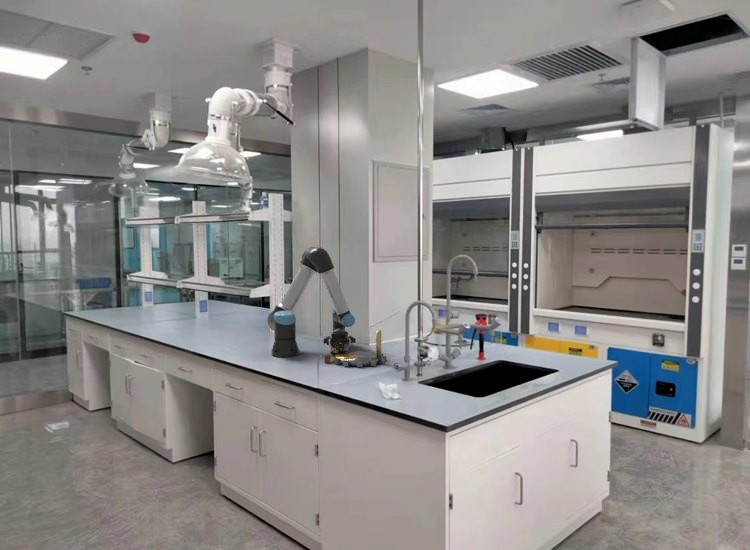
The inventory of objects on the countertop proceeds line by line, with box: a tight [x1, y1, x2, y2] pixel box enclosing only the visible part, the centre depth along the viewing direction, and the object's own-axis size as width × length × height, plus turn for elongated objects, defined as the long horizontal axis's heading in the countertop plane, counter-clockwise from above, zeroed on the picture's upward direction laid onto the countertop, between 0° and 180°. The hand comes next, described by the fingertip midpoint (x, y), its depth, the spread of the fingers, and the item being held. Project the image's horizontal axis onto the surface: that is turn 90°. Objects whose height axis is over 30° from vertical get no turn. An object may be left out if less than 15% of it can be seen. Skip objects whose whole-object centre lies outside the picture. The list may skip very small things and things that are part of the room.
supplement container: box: [329, 330, 350, 356], centre depth 286 cm, size 10×10×12 cm
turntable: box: [332, 329, 387, 368], centre depth 268 cm, size 28×28×16 cm
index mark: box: [324, 353, 332, 364], centre depth 267 cm, size 3×4×4 cm
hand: (339, 343), depth 282 cm, fingers closed on supplement container, 10 cm apart
